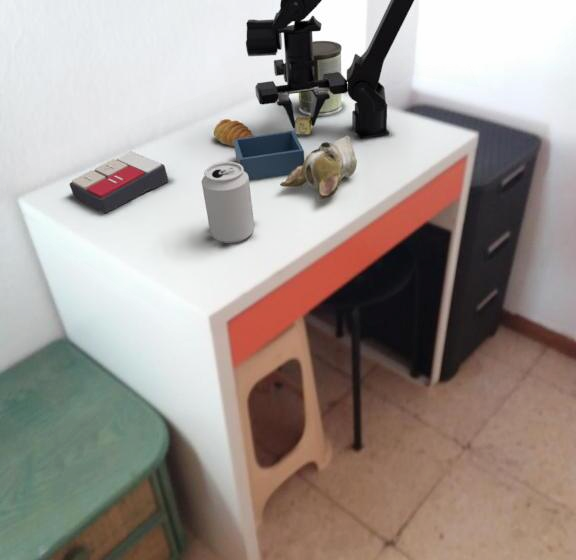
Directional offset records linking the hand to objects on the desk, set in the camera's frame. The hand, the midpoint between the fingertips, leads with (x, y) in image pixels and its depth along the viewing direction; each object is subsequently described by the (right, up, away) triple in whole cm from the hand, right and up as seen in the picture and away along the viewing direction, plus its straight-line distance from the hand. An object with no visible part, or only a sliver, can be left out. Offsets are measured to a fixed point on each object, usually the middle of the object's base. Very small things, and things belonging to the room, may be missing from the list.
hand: (303, 126), depth 132 cm
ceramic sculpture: (+4, -16, -19) cm, 25 cm away
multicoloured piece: (-36, -16, -14) cm, 42 cm away
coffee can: (+4, +7, +12) cm, 15 cm away
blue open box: (-7, -11, -10) cm, 16 cm away
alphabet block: (0, -1, +1) cm, 1 cm away
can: (-13, -26, -30) cm, 41 cm away
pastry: (-15, -3, +1) cm, 15 cm away
